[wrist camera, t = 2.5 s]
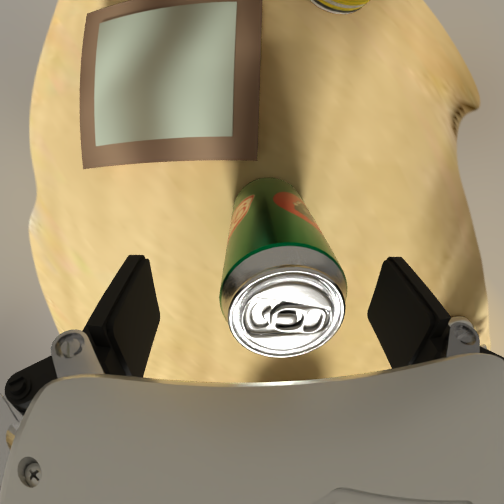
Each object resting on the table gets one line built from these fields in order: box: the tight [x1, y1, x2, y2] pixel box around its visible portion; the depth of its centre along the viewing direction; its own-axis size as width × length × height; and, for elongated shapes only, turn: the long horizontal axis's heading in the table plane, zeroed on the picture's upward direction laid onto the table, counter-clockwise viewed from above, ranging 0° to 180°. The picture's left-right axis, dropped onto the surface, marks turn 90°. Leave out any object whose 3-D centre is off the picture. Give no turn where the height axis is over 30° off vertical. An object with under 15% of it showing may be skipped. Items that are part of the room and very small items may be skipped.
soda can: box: [219, 178, 347, 358], centre depth 15 cm, size 5×5×12 cm
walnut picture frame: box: [80, 0, 262, 169], centre depth 14 cm, size 12×12×3 cm
